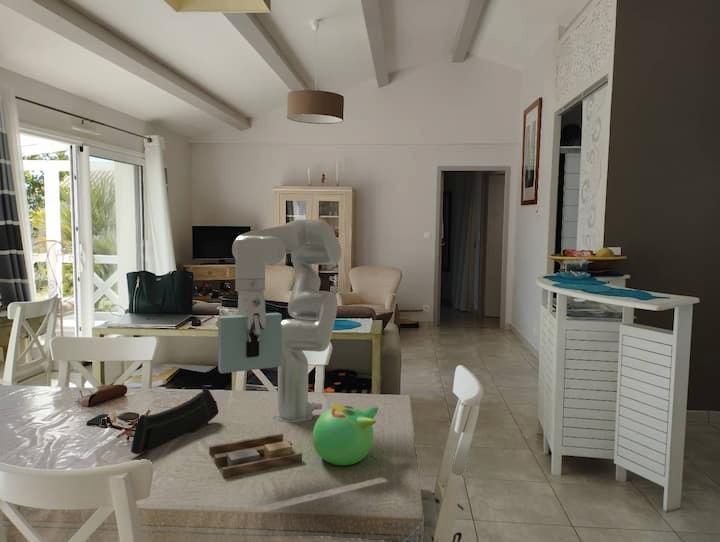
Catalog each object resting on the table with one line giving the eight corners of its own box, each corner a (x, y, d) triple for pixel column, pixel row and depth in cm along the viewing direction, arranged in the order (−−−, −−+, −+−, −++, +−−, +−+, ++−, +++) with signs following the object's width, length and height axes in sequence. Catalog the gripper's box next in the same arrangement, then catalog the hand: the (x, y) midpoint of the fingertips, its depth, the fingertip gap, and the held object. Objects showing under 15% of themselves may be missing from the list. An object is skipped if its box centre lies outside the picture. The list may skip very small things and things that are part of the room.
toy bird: (316, 445, 146) (317, 393, 145) (377, 447, 146) (378, 395, 145) (308, 475, 128) (308, 417, 127) (377, 477, 128) (378, 418, 127)
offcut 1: (254, 460, 134) (254, 448, 134) (259, 466, 131) (259, 454, 130) (227, 465, 131) (227, 453, 131) (231, 472, 127) (231, 460, 127)
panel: (277, 363, 143) (277, 312, 142) (281, 366, 140) (281, 314, 139) (218, 370, 135) (217, 316, 134) (221, 373, 132) (220, 318, 131)
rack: (281, 442, 148) (281, 432, 147) (302, 465, 134) (302, 454, 133) (208, 456, 138) (208, 445, 138) (223, 482, 124) (223, 470, 124)
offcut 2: (286, 453, 138) (286, 440, 138) (291, 459, 135) (291, 446, 134) (264, 458, 135) (264, 444, 135) (269, 464, 132) (269, 450, 132)
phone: (101, 413, 166) (145, 417, 164) (101, 417, 166) (145, 420, 164) (84, 422, 158) (130, 426, 156) (84, 426, 158) (130, 430, 156)
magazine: (131, 428, 133) (209, 368, 158) (122, 426, 134) (201, 367, 160) (147, 482, 139) (220, 416, 164) (139, 480, 140) (212, 414, 165)
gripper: (274, 287, 130) (274, 360, 132) (255, 281, 145) (255, 347, 146) (245, 289, 127) (245, 364, 128) (227, 282, 141) (228, 349, 143)
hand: (250, 354), depth 137 cm, fingers closed on panel, 3 cm apart
